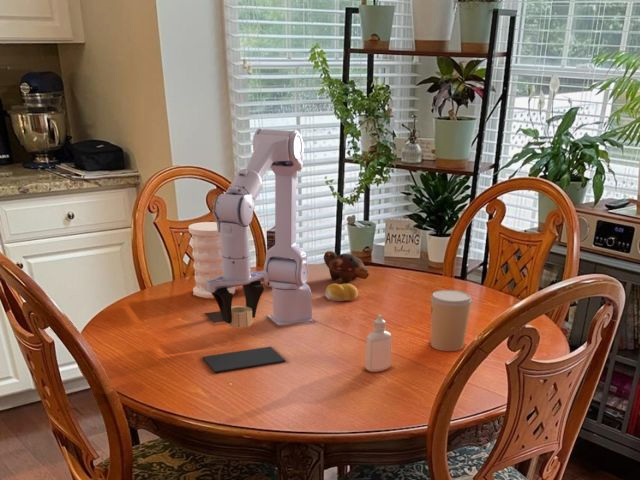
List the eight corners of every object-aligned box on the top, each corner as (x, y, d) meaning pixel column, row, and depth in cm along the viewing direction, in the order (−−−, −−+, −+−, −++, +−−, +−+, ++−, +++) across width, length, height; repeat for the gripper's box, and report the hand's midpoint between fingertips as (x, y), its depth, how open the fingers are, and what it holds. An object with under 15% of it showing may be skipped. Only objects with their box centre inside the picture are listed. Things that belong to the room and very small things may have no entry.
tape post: (234, 311, 186) (233, 292, 183) (244, 320, 180) (243, 301, 177) (204, 315, 182) (202, 295, 180) (213, 324, 176) (212, 304, 174)
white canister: (444, 335, 174) (448, 286, 168) (474, 346, 169) (480, 296, 163) (419, 344, 169) (422, 294, 163) (449, 355, 163) (454, 304, 157)
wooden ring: (242, 317, 159) (242, 304, 157) (257, 324, 155) (257, 310, 154) (221, 322, 156) (220, 308, 154) (236, 329, 152) (235, 315, 150)
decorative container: (186, 297, 195) (179, 229, 185) (203, 285, 204) (197, 220, 195) (226, 301, 193) (221, 232, 183) (241, 289, 202) (237, 223, 193)
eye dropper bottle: (391, 372, 154) (394, 318, 148) (366, 372, 153) (368, 318, 147) (389, 364, 158) (391, 311, 151) (363, 364, 157) (365, 311, 151)
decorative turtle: (328, 273, 219) (331, 246, 215) (373, 283, 215) (377, 256, 211) (314, 279, 212) (317, 251, 208) (361, 289, 207) (364, 262, 203)
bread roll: (361, 300, 197) (362, 286, 195) (330, 303, 194) (330, 288, 192) (351, 292, 203) (352, 278, 201) (321, 294, 200) (321, 280, 198)
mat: (270, 348, 164) (270, 346, 164) (285, 361, 157) (285, 360, 157) (202, 358, 157) (202, 356, 157) (215, 373, 151) (215, 371, 150)
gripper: (253, 247, 155) (256, 308, 162) (195, 256, 146) (200, 320, 153) (272, 253, 150) (275, 316, 157) (213, 264, 142) (218, 329, 149)
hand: (239, 319), depth 155 cm, fingers closed on wooden ring, 5 cm apart
